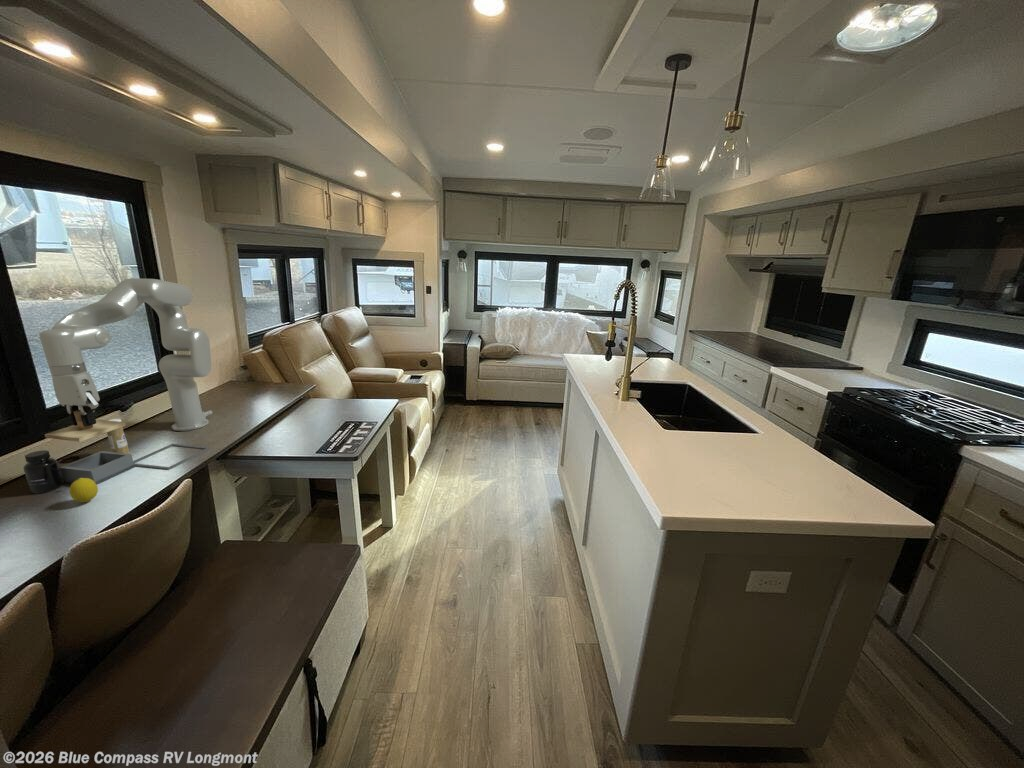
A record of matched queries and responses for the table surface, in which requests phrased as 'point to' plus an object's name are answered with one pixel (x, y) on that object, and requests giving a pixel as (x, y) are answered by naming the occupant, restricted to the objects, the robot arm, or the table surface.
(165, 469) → the picture frame
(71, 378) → the robot arm
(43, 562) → the table surface
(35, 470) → the supplement bottle
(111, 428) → the lid
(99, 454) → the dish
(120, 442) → the sprinkles bottle
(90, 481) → the lemon
